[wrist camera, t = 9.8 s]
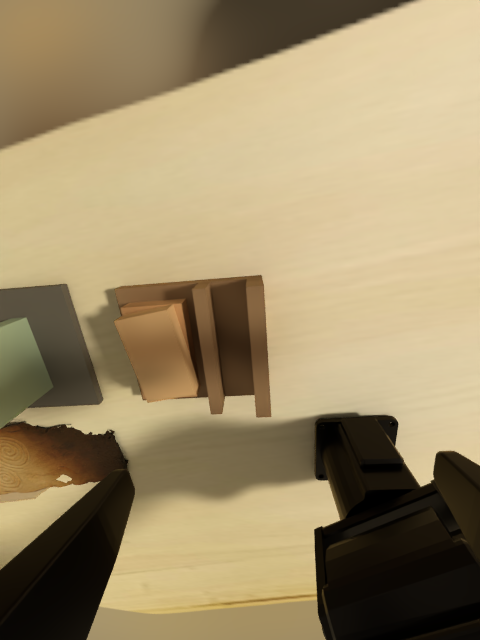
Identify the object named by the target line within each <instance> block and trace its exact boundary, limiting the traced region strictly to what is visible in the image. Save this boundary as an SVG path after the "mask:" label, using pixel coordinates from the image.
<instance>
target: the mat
mask: <svg viewBox="0 0 480 640" xmlns="http://www.w3.org/2000/svg"><path fill="white" fill-rule="evenodd" d="M24 317H26V318H27V320H28V323H29V326H30V328H31V331H32V333H33V336H34V338H35V341H36V343H37V346H38V349H39V351H40V354H41V356H42V359H43V361H44V364H45V366H46V369H47V372H48V374H49V377H50V379H51V382H52V384H53V388H52V389H50V390H49V391H48V392H47V393H45V394H44V395H43V396H41V397H40V398H39V399H38V400H36V401H35V402H34V403H33V404H31V405H30V406H29V407H28V408H35V407H56V406H77V405H98V404H100V403H101V402H102V401H103V397H102V394H101V391H100V388H99V385H98V381H97V378H96V375H95V372H94V369H93V366H92V363H91V359H90V356H89V353H88V350H87V347H86V344H85V341H84V337H83V334H82V331H81V328H80V325H79V322H78V319H77V315H76V312H75V309H74V306H73V303H72V300H71V297H70V293H69V290H68V287H67V284H59V285H47V286H35V287H23V288H10V289H0V322H3V321H6V320H8V319H11V318H24Z"/></svg>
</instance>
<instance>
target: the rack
mask: <svg viewBox="0 0 480 640" xmlns="http://www.w3.org/2000/svg"><path fill="white" fill-rule="evenodd" d="M114 290H115V293H116V297H117V301H118V305H119V309H120V313H121V316H122V312H121V307H123V306H125V305H126V304H128V303H133V302H147V301H160V300H173V299H186V301H187V307H188V313H189V319H190V325H191V331H192V338H193V344H194V350H195V356H196V362H197V368H198V374H199V381H200V389H199V392H198V396H197V397H178V398H172V399H179V398H199V397H208V398H209V405H210V411H211V414H222V412H223V406H224V399H225V396H241V395H255V406H256V417H271V404H270V386H269V368H268V351H267V333H266V315H265V298H264V284H263V280H262V276H261V275H258V276H245V277H233V278H220V279H208V280H195V281H183V282H171V283H158V284H146V285H133V286H121V287H119V288H117V289H114ZM137 379H138V378H137ZM138 383H139V381H138ZM139 387H140V383H139ZM140 391H141V387H140ZM141 395H142V391H141ZM142 399H143V395H142ZM143 400H146V399H143Z"/></svg>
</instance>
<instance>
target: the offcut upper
mask: <svg viewBox="0 0 480 640" xmlns="http://www.w3.org/2000/svg"><path fill="white" fill-rule="evenodd" d="M114 323H115V326H116V328H117V330H118V333H119V335H120V338H121V340H122V342H123V345H124V347H125V350H126V352H127V354H128V357H129V359H130V362H131V364H132V366H133V369H134V371H135V374H136V376H137V378H138V381H139V383H140V386H141V388H142V390H143V393H144V395H145V398H146V400H147V402H148V403H149V402H155V401H161V400H167V399H172V398H178V397H184V396H190V395H196V392H197V389H198V386H199V382H198V378H197V375H196V372H195V369H194V366H193V363H192V360H191V357H190V354H189V351H188V348H187V345H186V342H185V339H184V336H183V333H182V330H181V327H180V324H179V321H178V317H177V314H176V311H175V308H174V305H173V304H171V305H166V306H162V307H157V308H153V309H148V310H143V311H139V312H134V313H130V314H125V315H123V316H121V317H120V318H118V319H116V320H115V321H114Z"/></svg>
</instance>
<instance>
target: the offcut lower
mask: <svg viewBox="0 0 480 640" xmlns="http://www.w3.org/2000/svg"><path fill="white" fill-rule="evenodd" d="M171 304H173V305H174V308H175V311H176V314H177V317H178V321H179V324H180V327H181V330H182V333H183V336H184V339H185V342H186V345H187V348H188V351H189V354H190V357H191V360H192V363H193V366H194V369H195V372H196V375H197V378H198V382H199V386H198V389H197V392H196V395H190V396H184V397H197V396H198V392H199V389H200V381H199V374H198V368H197V362H196V356H195V350H194V344H193V338H192V331H191V325H190V319H189V313H188V307H187V301H186V299H173V300H160V301H147V302H133V303H128V304H126V305H125V306H123V307H121V312H122V316H123V315H125V314H130V313H134V312H139V311H143V310H148V309H153V308H157V307H162V306H166V305H171ZM140 387H141V386H140ZM141 391H142V395H143V399H146V398H145V395H144V393H143V390H142V388H141Z"/></svg>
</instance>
